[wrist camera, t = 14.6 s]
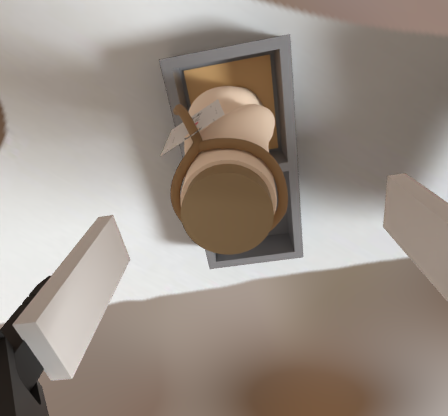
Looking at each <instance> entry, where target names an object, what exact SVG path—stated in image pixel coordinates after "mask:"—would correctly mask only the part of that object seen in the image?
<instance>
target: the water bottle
mask: <svg viewBox="0 0 448 416" xmlns="http://www.w3.org/2000/svg"><path fill="white" fill-rule="evenodd" d="M173 113H174V114H175V115H179V116H180V118H181V120H182V121H183V123H181V124H180V125H178V126H177V127H175V128H174V129H172V130H171V132H170V135H169V137H168V139H167V142H166V144H165V146H164V149H163V151H162V153H161V156H162V155H163V154H165V153H167V152H168V151H170V150H171V149H173V148H174V147H176V146H177V145H179V144H180V143H182V142H183V141H184V151H185V156H184V157H183V159H182V161H181V162H180V164H179V166H178V168H177V170H176V172H175V174H174V177H173V180H172V184H171V202H172V206H173V209H174V211H175V213H176V215H177V216H178V218H179V219H180V221H181V222H182V224H183V227H184V229H185V231H186V233H187V234H188V236H189V237H190V238H191V239H192V240H193V241H194V242H195V243H196V244H197V245H199V246H200V247H202V248H204V249H206V250H208V251H211V252H213V253H218V254H225V255H232V254H240V253H243V252H246V251H249V250H251V249H253V248H255V247H256V246H257V245H259V244H260V243H261V242H262V241H263V240H264V239H265V238H266V237H267V235H268V233H269V232H270V231H271V230H272V229H273V228H274V227H275V226H276V225H277V224H278V223H279V222H280V221H281V219H282V218H283V216H284V215H285V213H286V211H287V206H288V190H287V184H286V180H285V177H284V174H283V172H282V170H281V168H280V166H279V164H278V163H277V161H276V160H275V159H274V157H273V156H272V155H271V154H270V153H269V149H268V145H269V141H270V139H271V138H272V135H273V131H274V126H275V118H274V115H273V113H272V112H271V111H270V110H269V109H268V108H266V107H264V106H263V105H262V103H261V101H260V99H259V98H258V96H257V95H256V94H255V93H254V92H252V91H251V90H249V89H246V88H243V87H235V86H221V87H215V88H212V89H210V90H207V91H205V92H204V93H202V94H201V95H199V96H198V97H197V98H196V99H195V100H194V102H193V103H192V105H191V107H190V109H189V112H188V111H187V110H186V108H185V107H184V106H183V105H181V104H178V105H176V106H175V108H174V109H173ZM185 174H186V175H185ZM184 177H185V179H184ZM273 177H274V178H273ZM183 179H184V183H183V186H182V191H181V198H180V190H181V185H182V182H183ZM274 180H275V183H276V186H277V191H278V207H277V210H276V206H277V195H276V188H275V183H274Z"/></svg>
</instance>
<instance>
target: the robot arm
mask: <svg viewBox="0 0 448 416" xmlns="http://www.w3.org/2000/svg"><path fill="white" fill-rule="evenodd" d="M383 227H384V229H385V230H386V231H387V232H388V233H389V234H390V236H391V237H392V238H393V239H394V240H395V241H396V243H397V244H398V245H399V246H400V247H401V248H402V249H403V251H404V252H405V253H406V254H407V255H408V256H409V258H410V259H411V260H412V261H413V262H414V263H415V265H416V266H417V267H418V268H419V269H420V270H421V271H422V273H423V274H424V275H425V276H426V277H427V278H428V280H429V281H430V282H431V283H432V284H433V285H434V286H435V288H436V289H437V290H438V291H439V292H440V294H441V295H442V296H443V297H444V298H445V299H446V300H447V302H448V203H447V202H446V201H444V200H443V199H441V198H440V197H439V196H437V195H436V194H434V193H433V192H431V191H430V190H429V189H427V188H426V187H424V186H423V185H421V184H420V183H419V182H417V181H416V180H414V179H413V178H411V177H410V176H409V175H407V174H406V173H402V174H395V175H388V176H387V188H386V199H385V211H384V222H383ZM129 261H130V257H129V255H128V252H127V250H126V247H125V245H124V242H123V239H122V237H121V234H120V232H119V229H118V227H117V224H116V221H115V219H114V216H113V215H110V216H103V217H98V218H97V220H96V221H95V222H94V223H93V225H92V226H91V227H90V228H89V230H88V231H87V232H86V233H85V235H84V236H83V237H82V238H81V240H80V241H79V242H78V243H77V245H76V246H75V247H74V248H73V250H72V251H71V252H70V253H69V255H68V256H67V257H66V258H65V260H64V261H63V262H62V263H61V265H60V266H59V267H58V268H57V270H56V271H55V272H54V273H53V274H52V276H48V277H47V278H46V279H44V280H43V281H42V282H41V283H39V284H38V285H37V286H36V287H35V288H34V290H33V291H32V292H31V293H30V294H29V297H27V298H26V299H25V300H24V302H23V303H22V305H20V306H19V308H18V309H17V310H16V311H15V312H14V314H13V315H12V316H11V317H10V318H9V320H8V321H7V322H6V323H5V324H4V326H3V327H2V328H1V329H0V416H49V414H48V410H47V406H46V402H45V398H44V393H43V389H42V386H41V385H40V383H39V382H38V378H39V377H40V375H41V373H42V372H43V370H44V371H45V372H46V374H47V375H48V377H49V378H50V379H51V381H53V380H64V379H72V378H73V376H74V374H75V372H76V370H77V367H78V366H79V364H80V362H81V359H82V357H83V355H84V353H85V351H86V349H87V347H88V345H89V343H90V341H91V339H92V337H93V335H94V333H95V331H96V329H97V327H98V324H99V322H100V320H101V318H102V316H103V314H104V312H105V310H106V308H107V306H108V304H109V302H110V300H111V298H112V296H113V294H114V292H115V290H116V288H117V286H118V284H119V281H120V279H121V277H122V275H123V273H124V271H125V269H126V267H127V265H128V263H129Z"/></svg>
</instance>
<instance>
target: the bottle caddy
mask: <svg viewBox="0 0 448 416" xmlns="http://www.w3.org/2000/svg"><path fill="white" fill-rule="evenodd" d="M159 62H160V66H161V70H162V75H163V79H164V83H165V87H166V91H167V95H168V99H169V103H170V107H171V112H172V116H173V120H174V124H175V127H177V126H178V125H180V124H181V123H183V121H182V120H181V118H180V116H179V115H175V114H174V113H173V109H174V108H175V106H176V105H178V104H181V105H183V106H184V107H185V108H186V110H187V111H188V112H189V109H190V107H191V105H192V103H193V102H194V100H195V99H196V98H197V97H198V96H199V95H201V94H202V93H204V92H205V91H207V90H210V89H212V88H215V87H221V86H235V87H243V88H246V89H249V90H251V91H252V92H254V93H255V94H256V95H257V96H258V98H259V99H260V101H261V103H262V105H263V106H264V107H266V108H268V109H269V110H270V111H271V112H272V113H273V115H274V118H275V126H274V131H273V135H272V138H271V139H270V141H269V145H268V149H269V153H270V154H271V155H272V156H273V157H274V159H275V160H276V161H277V163H278V164H279V166H280V168H281V170H282V172H283V174H284V177H285V180H286V184H287V190H288V206H287V211H286V213H285V215H284V216H283V218H282V219H281V221H280V222H279V223H278V224H277V225H276V226H275V227H274V228H273V229H272V230H271V231H270V232H269V233H268V235H267V237H266V238H265V239H264V240H263V241H262V242H261V243H260V244H259V245H257V246H256V247H255V248H253V249H251V250H249V251H246V252H243V253H240V254H232V255H225V254H218V253H213V252H211V251H208V250H206V249H205V251H206V255H207V259H208V264H209V268H210V269H214V268H222V267H230V266H238V265H245V264H253V263H261V262H269V261H277V260H285V259H293V258H301V257H303V244H302V227H301V210H300V193H299V176H298V159H297V142H296V125H295V108H294V91H293V75H292V58H291V41H290V34H289V35H283V36H278V37H273V38H268V39H263V40H258V41H252V42H247V43H242V44H237V45H232V46H227V47H222V48H216V49H211V50H206V51H201V52H196V53H191V54H185V55H180V56H175V57H170V58H165V59H160V60H159ZM180 149H181V153H182V157H184V156H185V151H184V141H183V142H182V143H180ZM273 178H274V177H273ZM274 183H275V180H274ZM275 188H276V195H277V206H276V210H277V207H278V191H277V186H276V183H275Z"/></svg>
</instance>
